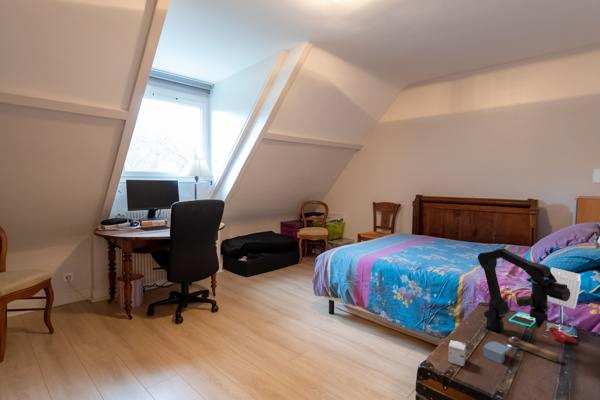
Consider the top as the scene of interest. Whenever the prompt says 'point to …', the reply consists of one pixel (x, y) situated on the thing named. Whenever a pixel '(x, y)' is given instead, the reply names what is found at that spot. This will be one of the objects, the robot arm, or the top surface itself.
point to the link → (534, 349)
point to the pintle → (511, 345)
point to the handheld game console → (523, 319)
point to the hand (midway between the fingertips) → (538, 327)
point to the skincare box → (457, 353)
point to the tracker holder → (561, 335)
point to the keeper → (496, 351)
